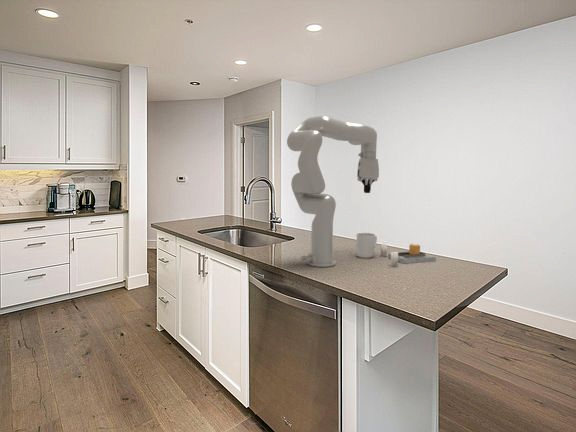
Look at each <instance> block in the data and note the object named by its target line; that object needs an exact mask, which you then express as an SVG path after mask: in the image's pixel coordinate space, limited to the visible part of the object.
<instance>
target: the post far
mask: <svg viewBox="0 0 576 432" xmlns="http://www.w3.org/2000/svg"><path fill="white" fill-rule="evenodd" d="M380 257H382V258H386V257H387V258H388V244H387V243H380Z"/></svg>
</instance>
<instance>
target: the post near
mask: <svg viewBox="0 0 576 432" xmlns="http://www.w3.org/2000/svg"><path fill="white" fill-rule="evenodd" d="M398 253H399V252H398V251H391V252H390V254H391V259H390V267H393V268H394V267H395V268H396V267H398V263H399V262H398Z"/></svg>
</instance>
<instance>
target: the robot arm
mask: <svg viewBox="0 0 576 432" xmlns="http://www.w3.org/2000/svg"><path fill="white" fill-rule="evenodd" d="M323 137H325V138H328V139H329V138H330V139H331V140H336V141H342V142H348V143H349V144H350V145H353V146H360V153H358V157H360V158H359V160H358V163H357V164H358V165H357V171H356V175H357V181H358V182H360V183H362V185H363V193H364V194H370V193H371V190H372V189H371V187H372V184H373V183H374V182H377V181H378V179H379V178H380V167H379V166H380V165H379V160H378V158H377V143H378V142H377V140H378V133H377V131H376V130H375V128H373V127H371V126H369V125H365V124H361V123H360V124H359V123H354V122H347V121H342V120H339V119H336V118H333V117H330V116H328V115H327V116H326V115H321V116H320V115H319V116H313V117H308V118H306V119H305V120H304V121H302V122H301V123H300V124H298V126H296V127H295V128H294V129H293V130H292V131H291V132H290V133H289V134H288V136H287V140H286V144H287V147H288V149H289V150H291V151H293V152H300V153H299V157H298V160H297V168H298V171H299V172H296V173H295V174H294V175H293V176H292V179H291V182H290V186H291V190H292V192H293V195H294V197H295V200H296V203H297V204H298V206H299V208H300V210H301V211H302V212H303V213H305V214H309V215H314V217H313V220H312V222H311V233H310V234H311V239H310V240H311V241H310V242H311V244H310V247H311V248H310V252H309V253H308V254H307V255H300V260H301V261H306V262H307V264H308V265H309V266H311V267H319V268H328V267H333V266H335V265H336V264H337V263H336V260H335V259H333V246H334V245H333V241H334V240H333V239H334V238H333V237H334V236H333V235H334V216H335V211H336V205H337V204H336V203H337V202H336V199H335V198H334V197H333V196H332V195H330V194H326V193H323V192H324V191H325V190H326V182H325V179H324V176H323V174H322V171H321V168H320V165H319V161H318V160H319V159H318V157H319V152H320V150H321V147H322V145H323Z"/></svg>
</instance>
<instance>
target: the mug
mask: <svg viewBox="0 0 576 432" xmlns="http://www.w3.org/2000/svg"><path fill="white" fill-rule="evenodd" d="M377 240H378V236H377V235H376V234H374V233H371V232H368V233H367V232H359V233H356V243H355V244H356V245H355V246H356V248H355V251H356V252H355V253H356V254H355V255H356V256H357V257H358V258H361V259H373V257H375V252H376V251H375V249H376V248H377Z"/></svg>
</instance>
